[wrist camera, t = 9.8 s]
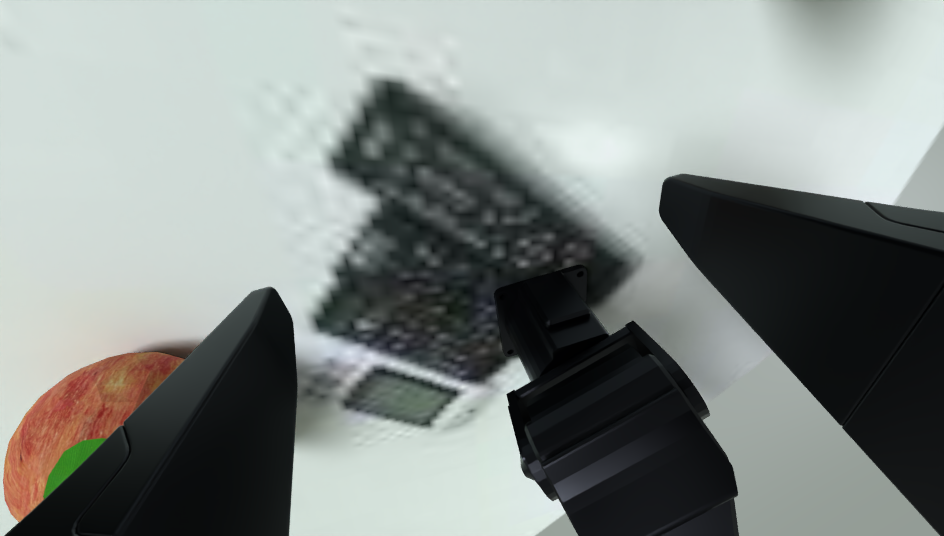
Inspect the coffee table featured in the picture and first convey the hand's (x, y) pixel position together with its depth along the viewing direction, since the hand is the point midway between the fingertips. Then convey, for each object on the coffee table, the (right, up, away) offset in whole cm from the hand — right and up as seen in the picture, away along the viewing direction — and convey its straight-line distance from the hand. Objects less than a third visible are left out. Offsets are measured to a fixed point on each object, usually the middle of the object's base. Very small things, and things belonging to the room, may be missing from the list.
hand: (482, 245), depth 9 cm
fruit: (-19, -7, +16) cm, 25 cm away
